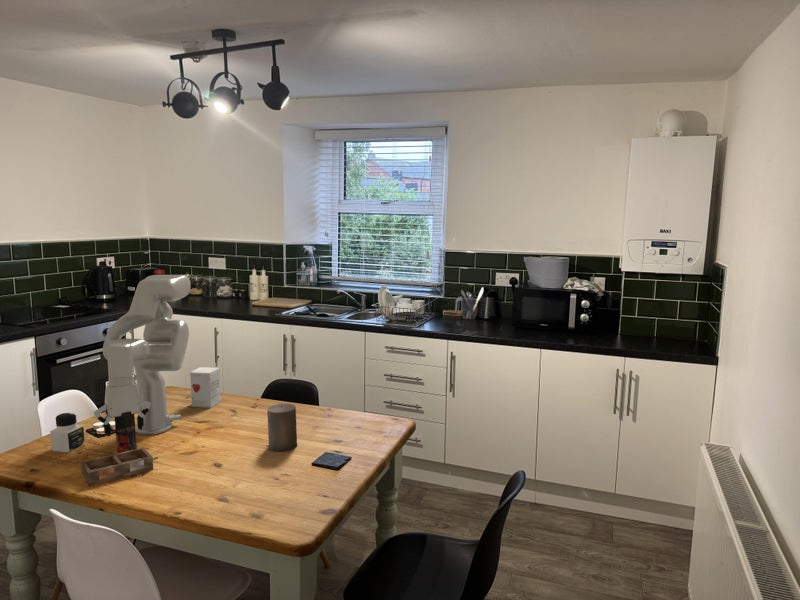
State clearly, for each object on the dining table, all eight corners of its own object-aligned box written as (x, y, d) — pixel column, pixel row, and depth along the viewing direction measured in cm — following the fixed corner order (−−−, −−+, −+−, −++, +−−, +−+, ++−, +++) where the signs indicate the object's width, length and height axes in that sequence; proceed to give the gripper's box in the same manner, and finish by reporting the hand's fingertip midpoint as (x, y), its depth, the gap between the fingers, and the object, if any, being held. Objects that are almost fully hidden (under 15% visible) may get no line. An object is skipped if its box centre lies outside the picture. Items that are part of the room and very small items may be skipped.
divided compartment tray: (143, 459, 187) (143, 447, 187) (153, 469, 179) (152, 457, 179) (81, 474, 176) (80, 462, 175) (89, 486, 168) (88, 473, 167)
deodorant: (141, 452, 193) (138, 408, 191) (125, 458, 187) (122, 414, 185) (128, 449, 195) (125, 406, 193) (113, 455, 190) (109, 411, 188)
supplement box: (190, 407, 239) (189, 372, 237) (201, 400, 248) (200, 366, 246) (211, 408, 237) (209, 372, 235) (221, 401, 246) (219, 367, 244)
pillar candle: (303, 445, 198) (301, 403, 196) (279, 454, 191) (277, 410, 189) (286, 438, 205) (284, 397, 203) (262, 446, 198) (260, 404, 196)
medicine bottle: (69, 453, 192) (66, 418, 190) (51, 451, 193) (48, 417, 192) (85, 444, 199) (82, 411, 197) (67, 443, 200) (64, 410, 199)
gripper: (146, 374, 196) (148, 423, 198) (89, 383, 185) (92, 434, 187) (152, 379, 190) (155, 429, 192) (95, 387, 179) (98, 440, 181)
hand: (124, 431), depth 189 cm, fingers open, 9 cm apart
